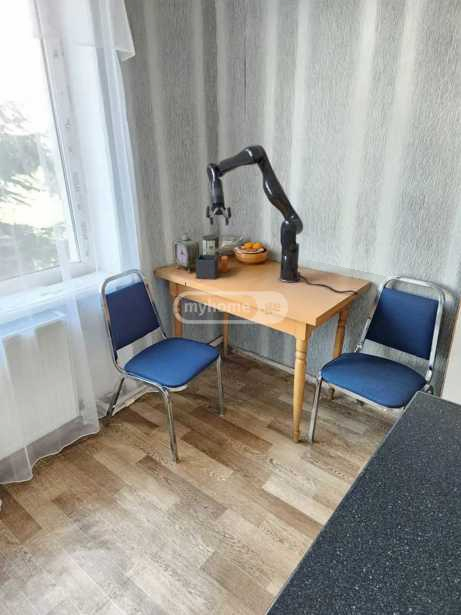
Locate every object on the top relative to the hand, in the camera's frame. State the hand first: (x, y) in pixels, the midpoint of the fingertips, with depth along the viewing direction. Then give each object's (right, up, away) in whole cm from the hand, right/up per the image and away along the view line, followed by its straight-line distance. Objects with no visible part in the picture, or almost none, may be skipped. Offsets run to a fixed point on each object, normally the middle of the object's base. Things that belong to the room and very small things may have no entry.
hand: (219, 224), depth 222 cm
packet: (+3, -25, +6) cm, 26 cm away
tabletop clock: (-19, -25, +8) cm, 32 cm away
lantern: (-6, -16, +26) cm, 31 cm away
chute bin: (-7, -29, -2) cm, 30 cm away
